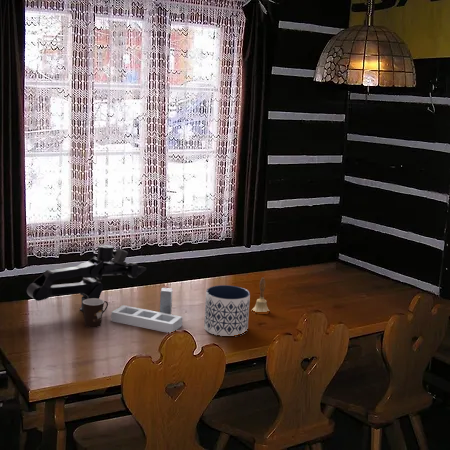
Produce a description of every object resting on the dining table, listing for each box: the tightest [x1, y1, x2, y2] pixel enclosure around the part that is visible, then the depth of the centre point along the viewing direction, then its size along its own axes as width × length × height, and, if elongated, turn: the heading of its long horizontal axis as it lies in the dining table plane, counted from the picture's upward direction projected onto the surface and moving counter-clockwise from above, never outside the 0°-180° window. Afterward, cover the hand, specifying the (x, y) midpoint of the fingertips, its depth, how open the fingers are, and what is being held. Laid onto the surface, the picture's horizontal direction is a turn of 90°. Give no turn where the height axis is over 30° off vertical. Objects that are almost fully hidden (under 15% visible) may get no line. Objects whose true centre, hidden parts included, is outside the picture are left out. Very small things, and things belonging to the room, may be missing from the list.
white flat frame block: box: [110, 304, 183, 334], centre depth 289 cm, size 28×10×4 cm, turn 69°
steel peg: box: [159, 287, 173, 315], centre depth 299 cm, size 4×4×12 cm
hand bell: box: [251, 277, 270, 312], centre depth 311 cm, size 8×8×16 cm
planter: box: [203, 284, 251, 337], centre depth 287 cm, size 18×18×16 cm
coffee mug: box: [83, 298, 109, 329], centre depth 284 cm, size 12×9×10 cm
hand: (140, 267), depth 313 cm, fingers open, 9 cm apart
